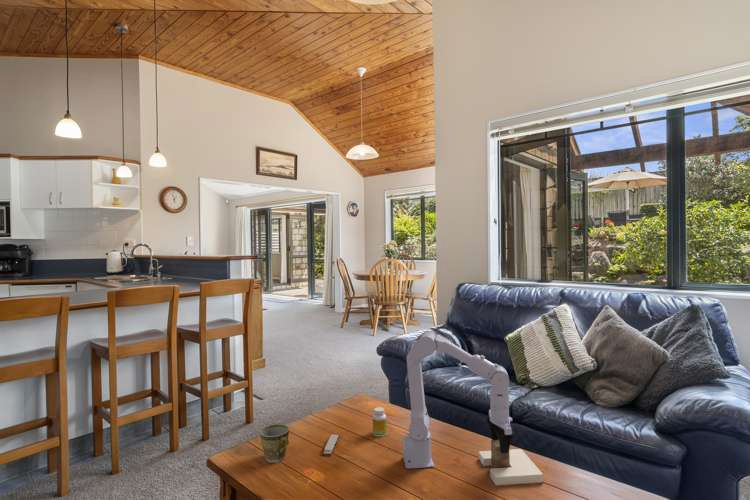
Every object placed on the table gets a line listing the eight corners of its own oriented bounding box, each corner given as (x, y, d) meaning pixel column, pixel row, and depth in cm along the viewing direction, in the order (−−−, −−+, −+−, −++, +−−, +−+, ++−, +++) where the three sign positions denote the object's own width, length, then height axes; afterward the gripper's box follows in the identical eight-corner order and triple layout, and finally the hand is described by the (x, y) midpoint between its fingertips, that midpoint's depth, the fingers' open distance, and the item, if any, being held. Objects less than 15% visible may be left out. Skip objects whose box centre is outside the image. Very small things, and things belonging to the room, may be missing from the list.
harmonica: (331, 437, 159) (331, 432, 159) (339, 437, 159) (339, 432, 159) (322, 457, 144) (322, 451, 144) (331, 457, 144) (330, 451, 144)
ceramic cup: (255, 458, 143) (254, 430, 143) (279, 448, 151) (278, 421, 150) (276, 472, 134) (275, 442, 134) (300, 460, 142) (300, 431, 142)
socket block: (495, 485, 125) (495, 477, 125) (479, 458, 141) (478, 451, 140) (543, 482, 126) (543, 474, 126) (521, 456, 142) (521, 448, 142)
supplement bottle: (385, 437, 157) (384, 412, 157) (371, 436, 158) (371, 411, 158) (387, 431, 162) (387, 406, 162) (374, 430, 163) (373, 406, 163)
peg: (496, 474, 131) (495, 446, 131) (491, 467, 135) (491, 440, 135) (509, 473, 131) (509, 446, 131) (504, 466, 135) (504, 439, 135)
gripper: (521, 413, 126) (521, 457, 126) (502, 396, 140) (503, 435, 140) (498, 414, 125) (499, 458, 126) (482, 397, 140) (483, 436, 140)
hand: (499, 446), depth 133 cm, fingers open, 7 cm apart
